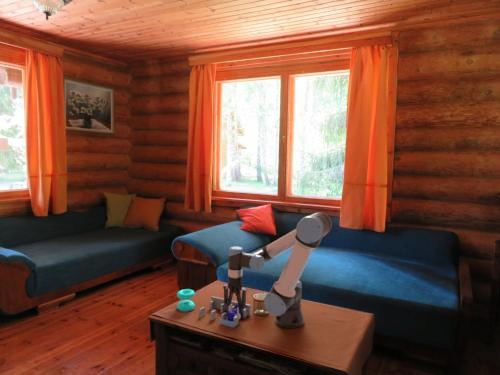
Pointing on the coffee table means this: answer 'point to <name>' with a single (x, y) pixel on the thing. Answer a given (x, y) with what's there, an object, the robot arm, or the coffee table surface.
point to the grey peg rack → (221, 305)
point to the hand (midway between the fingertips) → (234, 317)
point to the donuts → (186, 304)
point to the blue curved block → (233, 314)
